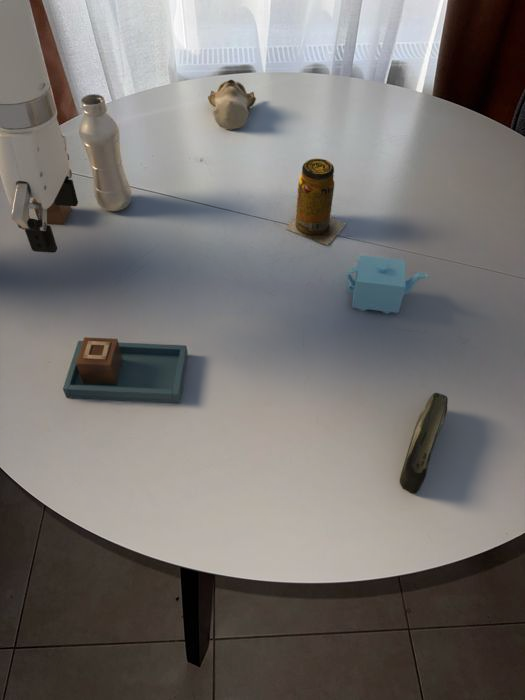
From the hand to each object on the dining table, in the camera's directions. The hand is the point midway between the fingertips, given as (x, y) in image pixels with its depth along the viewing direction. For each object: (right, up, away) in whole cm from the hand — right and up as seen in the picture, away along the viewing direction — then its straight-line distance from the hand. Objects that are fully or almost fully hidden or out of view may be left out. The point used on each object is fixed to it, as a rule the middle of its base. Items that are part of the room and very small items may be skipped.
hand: (56, 226), depth 78 cm
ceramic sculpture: (+21, +35, +50) cm, 64 cm away
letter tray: (+9, -20, +4) cm, 22 cm away
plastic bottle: (0, +10, +29) cm, 31 cm away
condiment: (+37, +5, +26) cm, 46 cm away
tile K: (-10, +8, +27) cm, 29 cm away
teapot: (+46, -9, +15) cm, 50 cm away
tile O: (+5, -20, +4) cm, 21 cm away
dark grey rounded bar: (+48, -29, -2) cm, 57 cm away
